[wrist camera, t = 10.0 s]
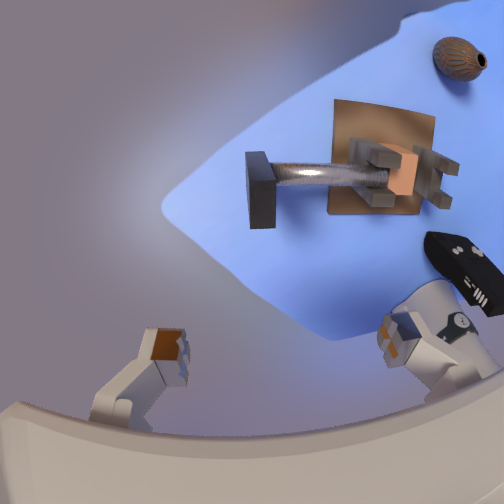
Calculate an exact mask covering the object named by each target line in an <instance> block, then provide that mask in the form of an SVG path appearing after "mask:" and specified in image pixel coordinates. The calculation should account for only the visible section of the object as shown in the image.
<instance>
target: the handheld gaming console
mask: <svg viewBox="0 0 504 504" xmlns="http://www.w3.org/2000/svg"><path fill="white" fill-rule="evenodd" d="M424 240H425V242H424V249H425V253H426V255H427V257H428V259H429V260H430V262H431V263H432V265H433V266H434V268H435V269H436V270H437V271H438V272H439V273H440V274H441V275H442V276H444V277H445V278H446V279H448V280H451V281H450V282H452V283H453V284H454V285H455V287H456V288H457V289H458V291H459V292H460V293H461V294H462V296H463V297H464V298H465V300H466V301H467V302H468V303H469V305H470V306H475V305H479V306H480V307H481V309H482V310H483V311H484V313H485V314H486V316H487V317H493V316H497V315H503V314H504V275H503V274H502V273H501V271H500V270H499V269H498V268H497V267H496V266H495V265H494V264H493V263H492V262H491V261H490V260H489V259H488V258H487V257H486V255H485V254H484V253H483V252H482V251H481V250H479V249H478V248H477V247H476V246H475V245H474V244H473V243H472V242H471V241H470V240H469V239H468V238H466V237H462V236H458V235H453V234H447V233H441V232H430V231H428V232H427V234H426V237H425V239H424Z"/></svg>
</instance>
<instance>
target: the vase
mask: <svg viewBox="0 0 504 504" xmlns="http://www.w3.org/2000/svg"><path fill="white" fill-rule="evenodd" d="M433 56H434V60H435V63H436V65H437V67H438V68H439V69H440V71H441V72H442V73H443V74H445V75H446V76H448V77H449V78H451V79H454V80H457V81H463V82H466V81H471V80H474V79H476V78H477V77H478V76H479V75H480V74H481V72H482V70H484V69H485V68H486V67H487V60H486V57H485V55H484V54H483V53H482V52H480V51H478V50H477V49H476V48H475V47H474V46H473V45H472V44H471V43H470V42H468V41H466V40H464V39H462V38H459V37H446V38H443V39H441V40H439V41H438V42H437V43H436V44H435V46H434V50H433Z"/></svg>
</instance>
